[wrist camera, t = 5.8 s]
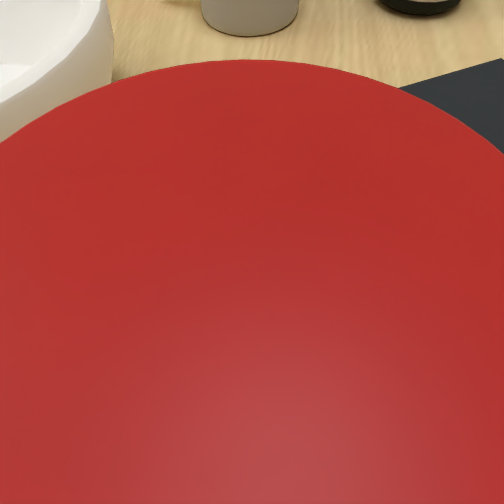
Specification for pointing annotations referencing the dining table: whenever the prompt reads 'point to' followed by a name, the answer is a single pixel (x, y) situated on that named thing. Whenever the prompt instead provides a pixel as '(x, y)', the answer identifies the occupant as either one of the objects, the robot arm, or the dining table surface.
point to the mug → (249, 15)
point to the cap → (251, 295)
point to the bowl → (50, 56)
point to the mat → (469, 98)
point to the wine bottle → (421, 5)
